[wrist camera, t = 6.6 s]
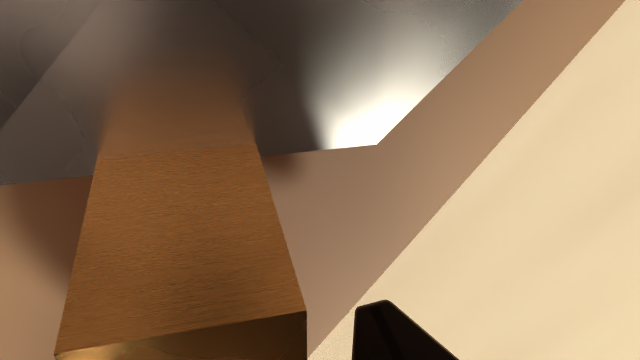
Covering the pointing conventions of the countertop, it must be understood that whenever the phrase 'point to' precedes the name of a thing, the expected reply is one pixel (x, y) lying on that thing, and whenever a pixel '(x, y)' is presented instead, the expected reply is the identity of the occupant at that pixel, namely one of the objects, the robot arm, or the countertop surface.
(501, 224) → the countertop surface
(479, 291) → the countertop surface
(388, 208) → the walnut board
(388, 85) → the flange plate
